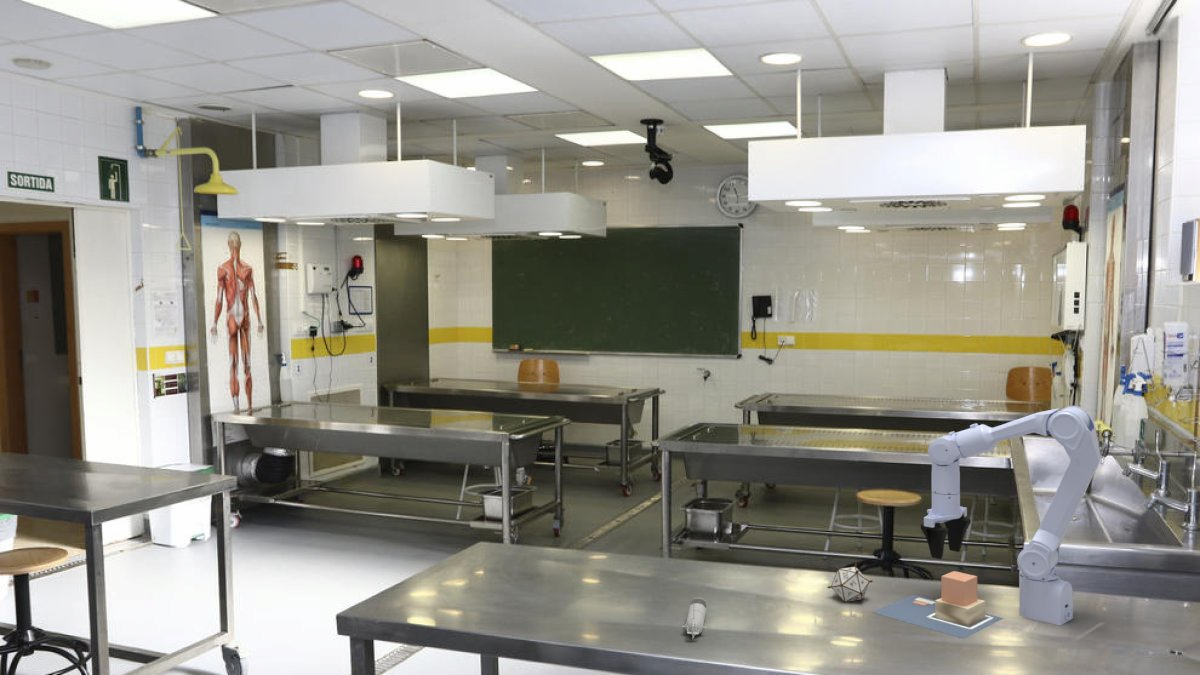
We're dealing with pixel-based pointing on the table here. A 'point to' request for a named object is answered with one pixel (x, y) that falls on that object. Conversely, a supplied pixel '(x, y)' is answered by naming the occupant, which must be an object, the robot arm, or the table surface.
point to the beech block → (960, 612)
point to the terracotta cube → (959, 588)
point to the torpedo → (696, 617)
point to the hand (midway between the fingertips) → (945, 554)
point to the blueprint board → (931, 617)
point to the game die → (850, 584)
